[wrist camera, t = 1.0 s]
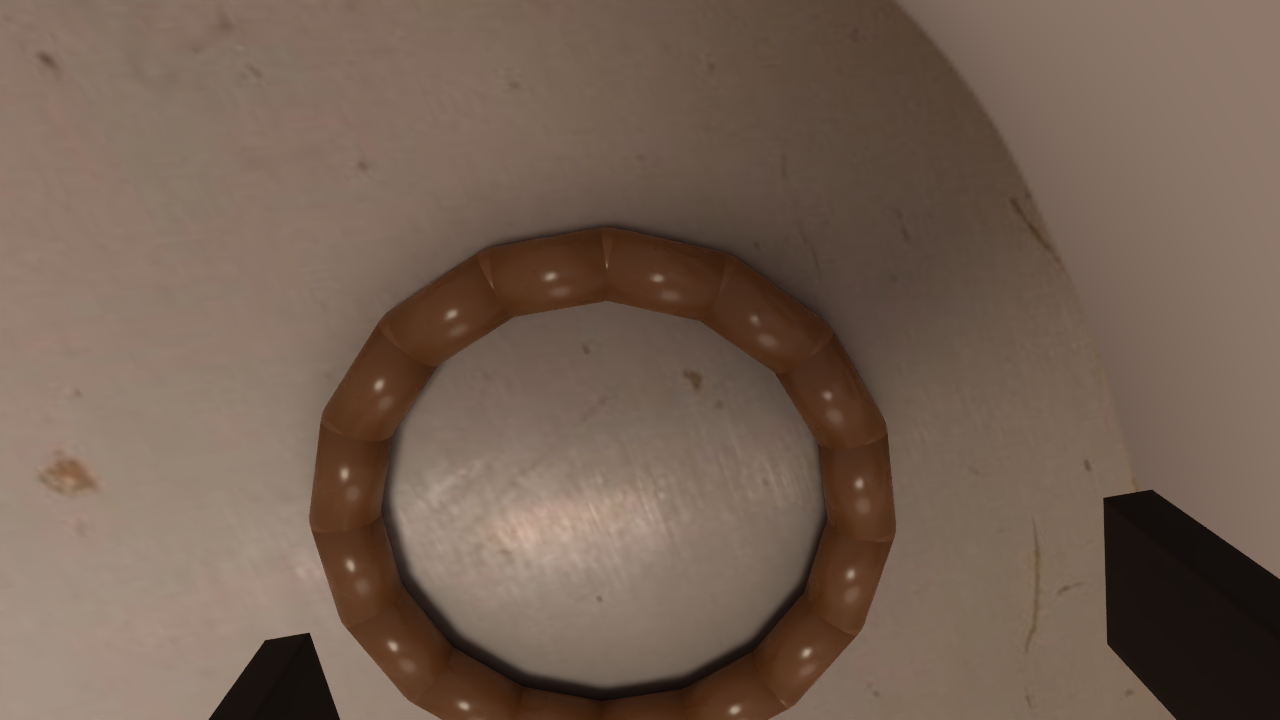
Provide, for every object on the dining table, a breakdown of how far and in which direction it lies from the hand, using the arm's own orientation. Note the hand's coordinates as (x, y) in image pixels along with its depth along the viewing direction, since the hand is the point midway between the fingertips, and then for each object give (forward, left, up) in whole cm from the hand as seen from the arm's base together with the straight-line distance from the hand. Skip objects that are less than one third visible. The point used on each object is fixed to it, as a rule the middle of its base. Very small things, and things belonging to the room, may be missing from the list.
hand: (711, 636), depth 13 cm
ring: (+5, -3, -15) cm, 16 cm away
